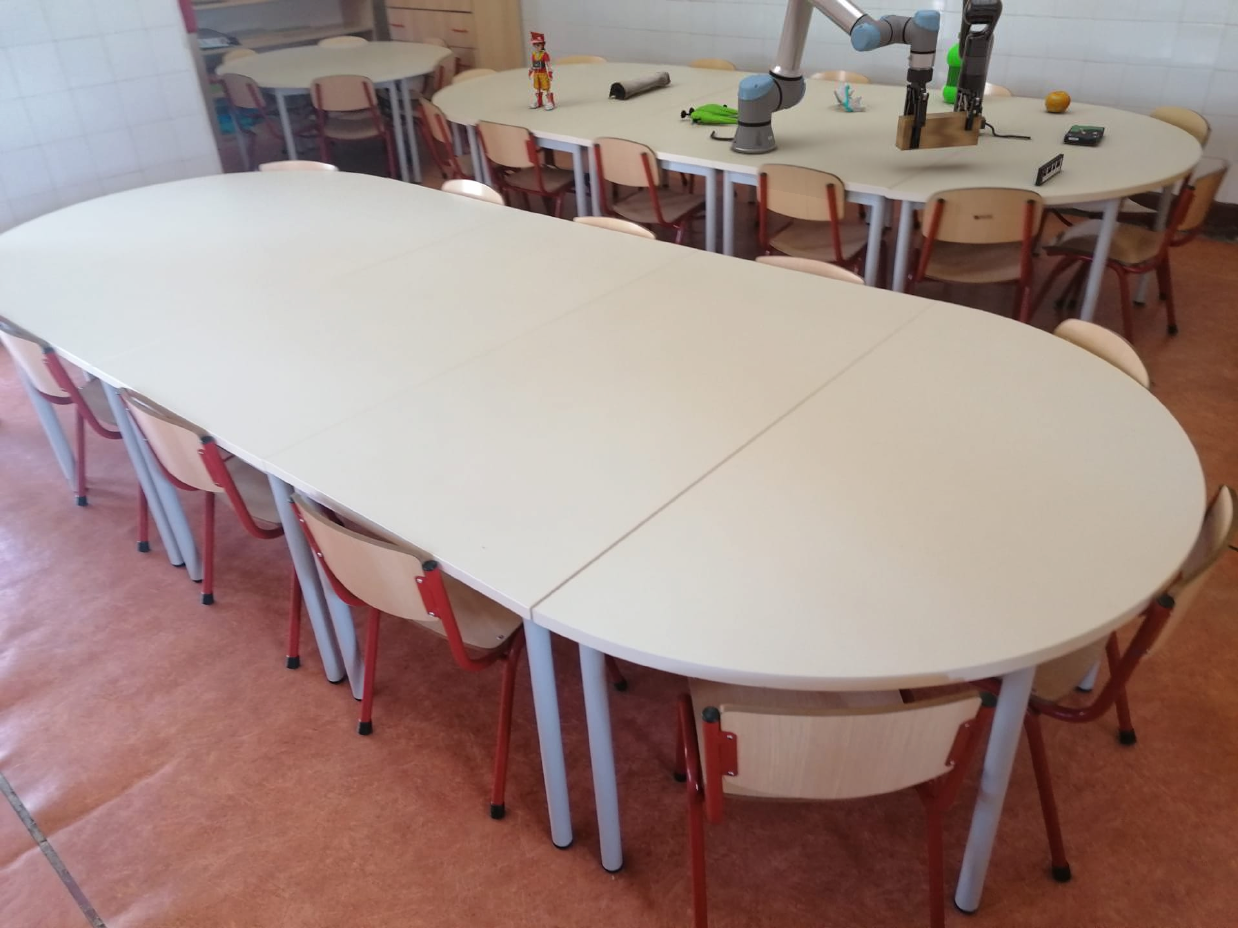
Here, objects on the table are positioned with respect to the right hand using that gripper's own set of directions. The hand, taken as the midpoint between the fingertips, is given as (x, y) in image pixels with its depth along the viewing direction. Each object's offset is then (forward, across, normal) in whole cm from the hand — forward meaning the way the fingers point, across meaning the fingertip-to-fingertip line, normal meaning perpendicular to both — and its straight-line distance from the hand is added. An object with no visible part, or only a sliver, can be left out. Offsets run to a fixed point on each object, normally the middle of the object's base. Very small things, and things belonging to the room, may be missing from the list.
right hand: (964, 127), depth 283 cm
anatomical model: (+12, -81, -14) cm, 83 cm away
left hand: (+4, 0, -16) cm, 17 cm away
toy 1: (+12, -117, -136) cm, 180 cm away
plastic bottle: (+12, -79, +28) cm, 84 cm away
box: (+5, 0, -8) cm, 10 cm away
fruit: (+12, -55, +58) cm, 80 cm away
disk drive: (+12, -18, +50) cm, 54 cm away
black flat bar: (+12, +19, +21) cm, 30 cm away
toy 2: (+12, -75, -65) cm, 100 cm away
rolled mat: (+12, -133, -92) cm, 162 cm away
